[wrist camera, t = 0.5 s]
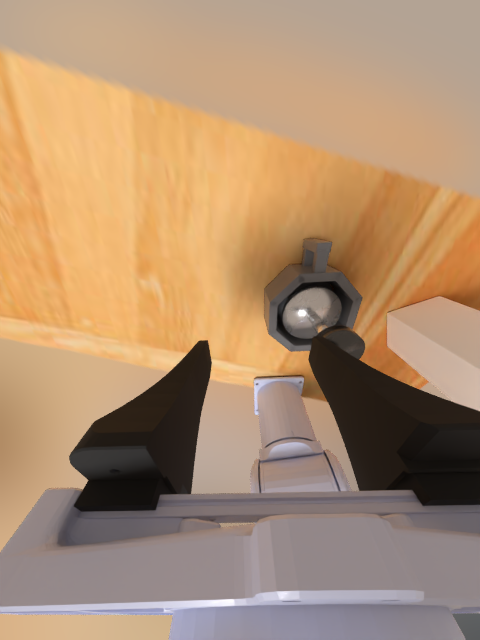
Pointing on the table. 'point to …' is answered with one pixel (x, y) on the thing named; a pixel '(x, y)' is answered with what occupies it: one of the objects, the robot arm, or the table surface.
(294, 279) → the grey jug
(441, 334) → the milk
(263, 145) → the table surface
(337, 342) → the plunger
